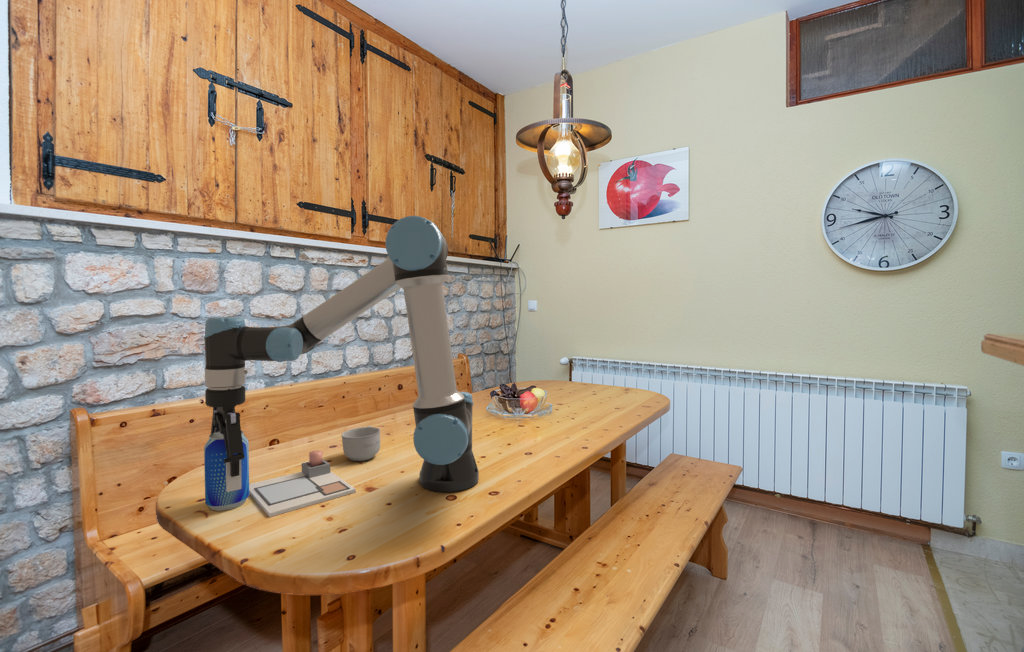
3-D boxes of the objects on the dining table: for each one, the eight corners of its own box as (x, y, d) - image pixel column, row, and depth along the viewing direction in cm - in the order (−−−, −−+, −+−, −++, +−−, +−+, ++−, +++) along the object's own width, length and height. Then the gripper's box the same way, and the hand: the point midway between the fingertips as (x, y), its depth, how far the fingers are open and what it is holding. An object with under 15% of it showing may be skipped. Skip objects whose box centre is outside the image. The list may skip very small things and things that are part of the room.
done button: (324, 463, 119) (324, 452, 118) (311, 466, 116) (311, 455, 116) (319, 460, 121) (319, 449, 121) (307, 463, 119) (307, 452, 119)
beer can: (202, 515, 96) (201, 441, 95) (208, 500, 104) (206, 431, 103) (248, 507, 100) (247, 436, 99) (250, 493, 107) (249, 427, 107)
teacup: (368, 465, 127) (368, 437, 126) (333, 462, 129) (333, 434, 128) (391, 450, 140) (391, 424, 140) (359, 447, 142) (359, 422, 142)
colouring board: (355, 492, 109) (355, 479, 109) (269, 517, 96) (269, 502, 96) (323, 469, 123) (323, 457, 123) (244, 488, 110) (244, 475, 110)
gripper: (260, 393, 94) (260, 493, 95) (231, 377, 112) (232, 461, 113) (218, 398, 89) (219, 504, 90) (195, 380, 107) (196, 468, 108)
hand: (226, 480), depth 101 cm, fingers open, 13 cm apart
